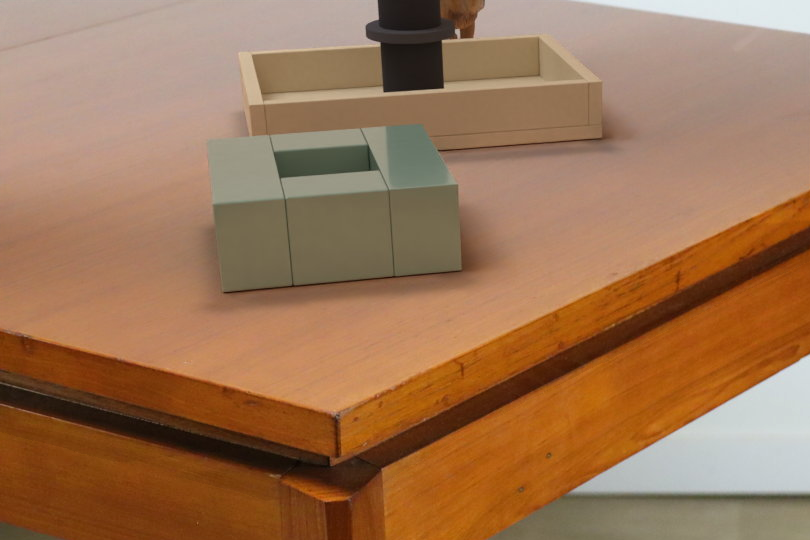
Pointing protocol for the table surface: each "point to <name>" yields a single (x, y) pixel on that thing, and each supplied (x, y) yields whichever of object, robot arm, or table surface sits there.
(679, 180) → the table surface
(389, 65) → the plug
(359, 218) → the block
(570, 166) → the table surface
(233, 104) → the table surface
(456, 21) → the lion figurine
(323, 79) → the wooden tray
